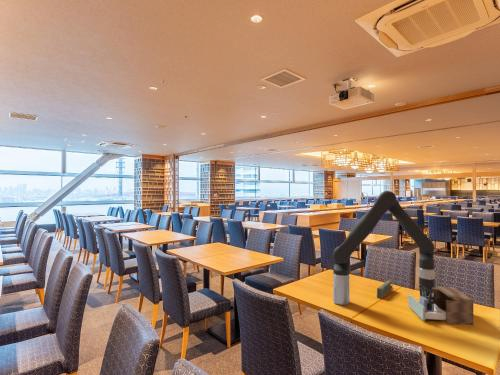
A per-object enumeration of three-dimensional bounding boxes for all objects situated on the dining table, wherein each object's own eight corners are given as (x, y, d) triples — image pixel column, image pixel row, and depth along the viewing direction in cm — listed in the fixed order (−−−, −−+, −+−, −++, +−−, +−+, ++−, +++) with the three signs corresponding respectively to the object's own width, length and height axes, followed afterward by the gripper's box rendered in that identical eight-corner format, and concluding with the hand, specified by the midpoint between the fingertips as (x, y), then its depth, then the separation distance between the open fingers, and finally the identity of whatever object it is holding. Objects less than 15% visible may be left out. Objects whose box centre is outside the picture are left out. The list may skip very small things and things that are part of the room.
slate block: (424, 310, 154) (424, 299, 154) (420, 307, 158) (419, 296, 158) (434, 311, 153) (434, 300, 153) (429, 307, 158) (429, 296, 158)
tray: (423, 320, 147) (423, 307, 147) (408, 305, 166) (408, 294, 166) (448, 322, 145) (448, 309, 145) (430, 306, 164) (430, 295, 164)
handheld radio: (375, 298, 180) (388, 287, 199) (381, 299, 178) (394, 289, 197) (376, 287, 180) (389, 278, 199) (381, 289, 178) (394, 279, 196)
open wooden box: (447, 323, 145) (447, 298, 145) (429, 308, 164) (429, 286, 164) (473, 325, 144) (473, 300, 144) (452, 309, 162) (452, 287, 162)
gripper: (413, 272, 163) (413, 302, 163) (425, 280, 149) (425, 313, 149) (428, 272, 162) (428, 303, 162) (441, 281, 148) (441, 314, 148)
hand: (426, 307), depth 156 cm, fingers closed on slate block, 5 cm apart
